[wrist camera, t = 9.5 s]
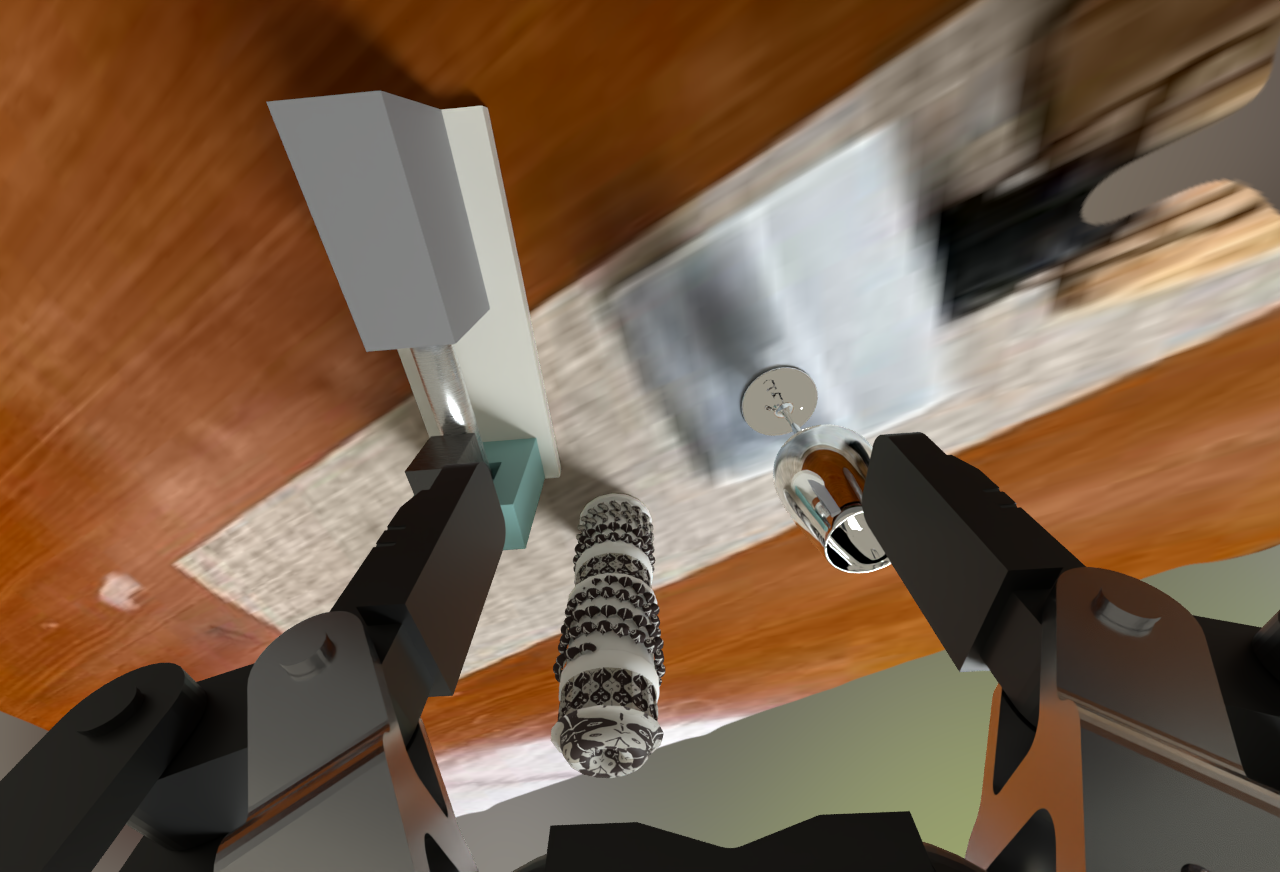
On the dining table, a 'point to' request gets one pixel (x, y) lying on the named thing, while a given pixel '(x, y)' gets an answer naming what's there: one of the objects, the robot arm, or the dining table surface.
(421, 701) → the robot arm
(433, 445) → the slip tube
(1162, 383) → the dining table surface
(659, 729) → the decorative candle
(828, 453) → the wineglass
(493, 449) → the socket
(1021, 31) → the dining table surface
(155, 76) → the dining table surface
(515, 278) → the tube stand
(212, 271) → the dining table surface
